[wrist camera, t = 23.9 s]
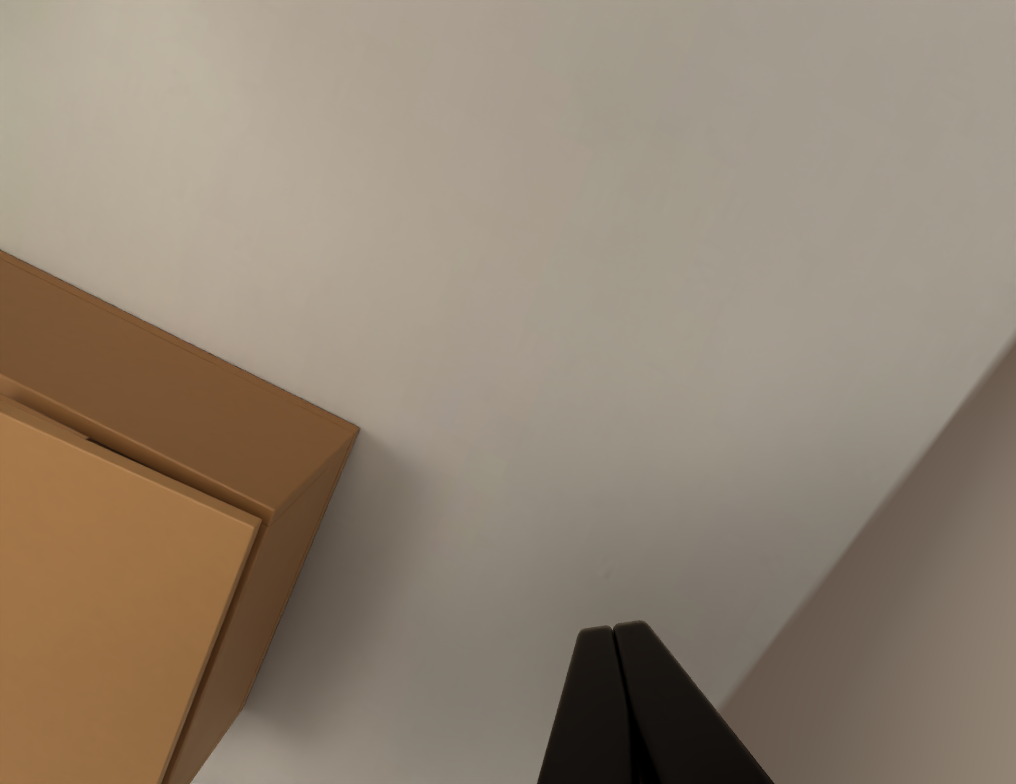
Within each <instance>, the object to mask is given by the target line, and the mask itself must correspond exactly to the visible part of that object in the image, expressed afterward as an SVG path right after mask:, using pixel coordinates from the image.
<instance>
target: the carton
mask: <svg viewBox="0 0 1016 784" xmlns="http://www.w3.org/2000/svg"><path fill="white" fill-rule="evenodd" d="M0 401H2V402H4V403H6V404H8V405H11V406H13V407H15V408H17V409H20V410H22V411H24V412H26V413H28V414H31V415H33V416H35V417H37V418H39V419H42V420H44V421H46V422H48V423H50V424H53V425H55V426H57V427H59V428H61V429H64V430H66V431H68V432H70V433H73V434H75V435H77V436H79V437H81V438H84V439H86V438H88V437H89V438H91V439H93V440H95V441H97V442H99V443H101V444H103V445H105V446H107V447H109V448H111V449H114V450H116V451H118V452H120V453H122V454H124V455H126V456H128V457H130V458H132V459H134V460H136V461H138V462H140V463H142V464H144V465H146V466H148V467H150V468H152V469H154V470H156V471H158V472H160V473H162V474H164V475H166V476H168V477H170V478H172V479H174V480H176V481H179V482H181V483H183V484H185V485H187V486H190V487H192V488H194V489H196V490H198V491H201V492H203V493H205V494H207V495H209V496H212V497H214V498H216V499H218V500H220V501H223V502H225V503H227V504H229V505H232V506H234V507H236V508H238V509H240V510H243V511H245V512H247V513H249V514H251V515H254V516H256V517H258V518H260V519H262V522H261V525H260V527H259V530H258V532H257V535H256V538H255V540H254V543H253V545H252V548H251V551H250V553H249V556H248V558H247V561H246V564H245V566H244V569H243V571H242V574H241V577H240V579H239V582H238V585H237V587H236V590H235V592H234V595H233V598H232V600H231V603H230V605H229V608H228V611H227V613H226V616H225V618H224V621H223V624H222V626H221V629H220V631H219V634H218V637H217V639H216V642H215V644H214V647H213V650H212V652H211V655H210V658H209V660H208V663H207V665H206V668H205V671H204V673H203V676H202V678H201V681H200V684H199V686H198V689H197V691H196V694H195V697H194V699H193V702H192V704H191V707H190V710H189V712H188V715H187V717H186V720H185V723H184V725H183V728H182V731H181V733H180V736H179V738H178V741H177V744H176V746H175V749H174V751H173V754H172V757H171V759H170V762H169V764H168V767H167V770H166V772H165V775H164V777H163V780H162V783H161V784H190V783H191V781H192V780H193V778H194V777H195V776H196V774H197V773H198V771H199V770H200V768H201V767H202V766H203V764H204V763H205V761H206V760H207V759H208V757H209V756H210V754H211V753H212V751H213V750H214V749H215V747H216V746H217V744H218V743H219V742H220V740H221V739H222V737H223V736H224V734H225V733H226V732H227V730H228V729H229V727H230V726H231V724H232V723H233V722H234V720H235V718H236V717H237V716H238V715H239V713H240V712H241V710H242V709H243V706H244V704H245V702H246V699H247V697H248V694H249V692H250V690H251V687H252V685H253V682H254V680H255V678H256V675H257V673H258V671H259V668H260V666H261V663H262V661H263V659H264V656H265V654H266V651H267V649H268V647H269V644H270V642H271V639H272V637H273V635H274V632H275V630H276V627H277V625H278V623H279V620H280V618H281V616H282V613H283V611H284V608H285V606H286V604H287V601H288V599H289V596H290V594H291V592H292V589H293V587H294V584H295V582H296V580H297V577H298V575H299V573H300V570H301V568H302V565H303V563H304V561H305V558H306V556H307V553H308V551H309V549H310V546H311V544H312V541H313V539H314V537H315V534H316V532H317V530H318V527H319V525H320V522H321V520H322V518H323V515H324V513H325V510H326V508H327V506H328V503H329V501H330V498H331V496H332V494H333V491H334V489H335V486H336V484H337V482H338V479H339V477H340V475H341V472H342V470H343V467H344V465H345V463H346V460H347V458H348V455H349V453H350V451H351V448H352V446H353V443H354V441H355V439H356V436H357V434H358V432H359V427H357V426H355V425H353V424H351V423H349V422H347V421H345V420H343V419H341V418H339V417H337V416H335V415H333V414H330V413H328V412H326V411H324V410H322V409H320V408H318V407H316V406H314V405H312V404H310V403H308V402H306V401H304V400H302V399H300V398H298V397H296V396H294V395H292V394H290V393H288V392H286V391H284V390H282V389H280V388H278V387H276V386H274V385H272V384H270V383H268V382H266V381H264V380H262V379H260V378H258V377H256V376H254V375H252V374H250V373H248V372H245V371H243V370H241V369H239V368H237V367H235V366H233V365H231V364H229V363H227V362H225V361H223V360H221V359H219V358H217V357H215V356H213V355H211V354H209V353H207V352H205V351H203V350H201V349H199V348H197V347H195V346H193V345H191V344H189V343H187V342H185V341H183V340H181V339H179V338H177V337H175V336H173V335H171V334H169V333H167V332H165V331H163V330H160V329H158V328H156V327H154V326H152V325H150V324H148V323H146V322H144V321H142V320H140V319H138V318H136V317H134V316H132V315H130V314H128V313H126V312H124V311H122V310H120V309H118V308H116V307H114V306H112V305H110V304H108V303H106V302H104V301H102V300H100V299H98V298H96V297H94V296H92V295H90V294H88V293H86V292H84V291H82V290H80V289H78V288H75V287H73V286H71V285H69V284H67V283H65V282H63V281H61V280H59V279H57V278H55V277H53V276H51V275H49V274H47V273H45V272H43V271H41V270H39V269H37V268H35V267H33V266H31V265H29V264H27V263H25V262H23V261H21V260H19V259H17V258H15V257H13V256H11V255H9V254H7V253H5V252H3V251H1V250H0Z"/></svg>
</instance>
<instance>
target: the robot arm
mask: <svg viewBox="0 0 1016 784" xmlns="http://www.w3.org/2000/svg"><path fill="white" fill-rule="evenodd" d="M537 784H774V783H773V782H772V780H771V779H770V777H769V776H768V775H767V774H766V772H765V771H764V770H763V769H762V767H761V766H760V765H759V764H758V762H757V761H756V760H755V759H754V757H753V756H752V755H751V754H750V752H749V751H748V750H747V748H746V747H745V746H744V745H743V743H742V742H741V741H740V740H739V739H738V737H737V736H736V735H735V733H734V732H733V731H732V730H731V728H730V727H729V726H728V724H727V723H726V722H725V721H724V720H723V718H722V717H721V716H720V714H719V713H718V712H717V711H716V709H715V708H714V707H713V706H712V704H711V703H710V702H709V701H708V699H707V698H706V697H705V695H704V694H703V693H702V692H701V690H700V689H699V688H698V687H697V685H696V684H695V683H694V682H693V680H692V679H691V678H690V677H689V675H688V674H687V673H686V671H685V670H684V669H683V668H682V666H681V665H680V664H679V663H678V661H677V660H676V659H675V658H674V656H673V655H672V654H671V653H670V651H669V650H668V649H667V648H666V646H665V645H664V644H663V642H662V641H661V640H660V639H659V637H658V636H657V635H656V634H655V632H654V631H653V630H652V629H651V627H650V626H649V625H648V624H647V623H646V622H644V621H640V620H639V621H632V622H625V623H618V624H616V625H615V626H614V628H613V630H612V628H611V627H610V626H606V625H605V626H598V627H591V628H585V629H582V630H581V631H580V632H579V634H578V637H577V640H576V644H575V647H574V651H573V655H572V658H571V662H570V665H569V669H568V673H567V676H566V680H565V684H564V687H563V691H562V694H561V698H560V702H559V705H558V709H557V713H556V716H555V720H554V723H553V727H552V731H551V734H550V738H549V742H548V745H547V749H546V752H545V756H544V760H543V763H542V767H541V771H540V774H539V778H538V781H537Z"/></svg>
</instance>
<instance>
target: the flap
mask: <svg viewBox="0 0 1016 784" xmlns="http://www.w3.org/2000/svg"><path fill="white" fill-rule="evenodd" d="M261 522H262V519H260V518H258V517H256V516H254V515H251V514H249V513H247V512H245V511H243V510H240V509H238V508H236V507H234V506H232V505H229V504H227V503H225V502H223V501H220V500H218V499H216V498H214V497H212V496H209V495H207V494H205V493H203V492H201V491H198V490H196V489H194V488H192V487H190V486H187V485H185V484H183V483H181V482H179V481H176V480H174V479H172V478H170V477H167V476H165V475H163V474H161V473H159V472H156V471H154V470H152V469H150V468H148V467H145V466H143V465H141V464H139V463H137V462H134V461H132V460H130V459H128V458H126V457H123V456H121V455H119V454H117V453H114V452H112V451H110V450H108V449H106V448H103V447H101V446H99V445H97V444H95V443H92V442H90V441H88V440H86V439H84V438H81V437H79V436H77V435H75V434H73V433H70V432H68V431H66V430H64V429H61V428H59V427H57V426H55V425H53V424H50V423H48V422H46V421H44V420H42V419H39V418H37V417H35V416H33V415H31V414H28V413H26V412H24V411H22V410H20V409H17V408H15V407H13V406H11V405H8V404H6V403H4V402H2V401H0V784H161V783H162V780H163V777H164V775H165V772H166V770H167V767H168V764H169V762H170V759H171V757H172V754H173V751H174V749H175V746H176V744H177V741H178V738H179V736H180V733H181V731H182V728H183V725H184V723H185V720H186V717H187V715H188V712H189V710H190V707H191V704H192V702H193V699H194V697H195V694H196V691H197V689H198V686H199V684H200V681H201V678H202V676H203V673H204V671H205V668H206V665H207V663H208V660H209V658H210V655H211V652H212V650H213V647H214V644H215V642H216V639H217V637H218V634H219V631H220V629H221V626H222V624H223V621H224V618H225V616H226V613H227V611H228V608H229V605H230V603H231V600H232V598H233V595H234V592H235V590H236V587H237V585H238V582H239V579H240V577H241V574H242V571H243V569H244V566H245V564H246V561H247V558H248V556H249V553H250V551H251V548H252V545H253V543H254V540H255V538H256V535H257V532H258V530H259V527H260V525H261Z"/></svg>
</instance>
